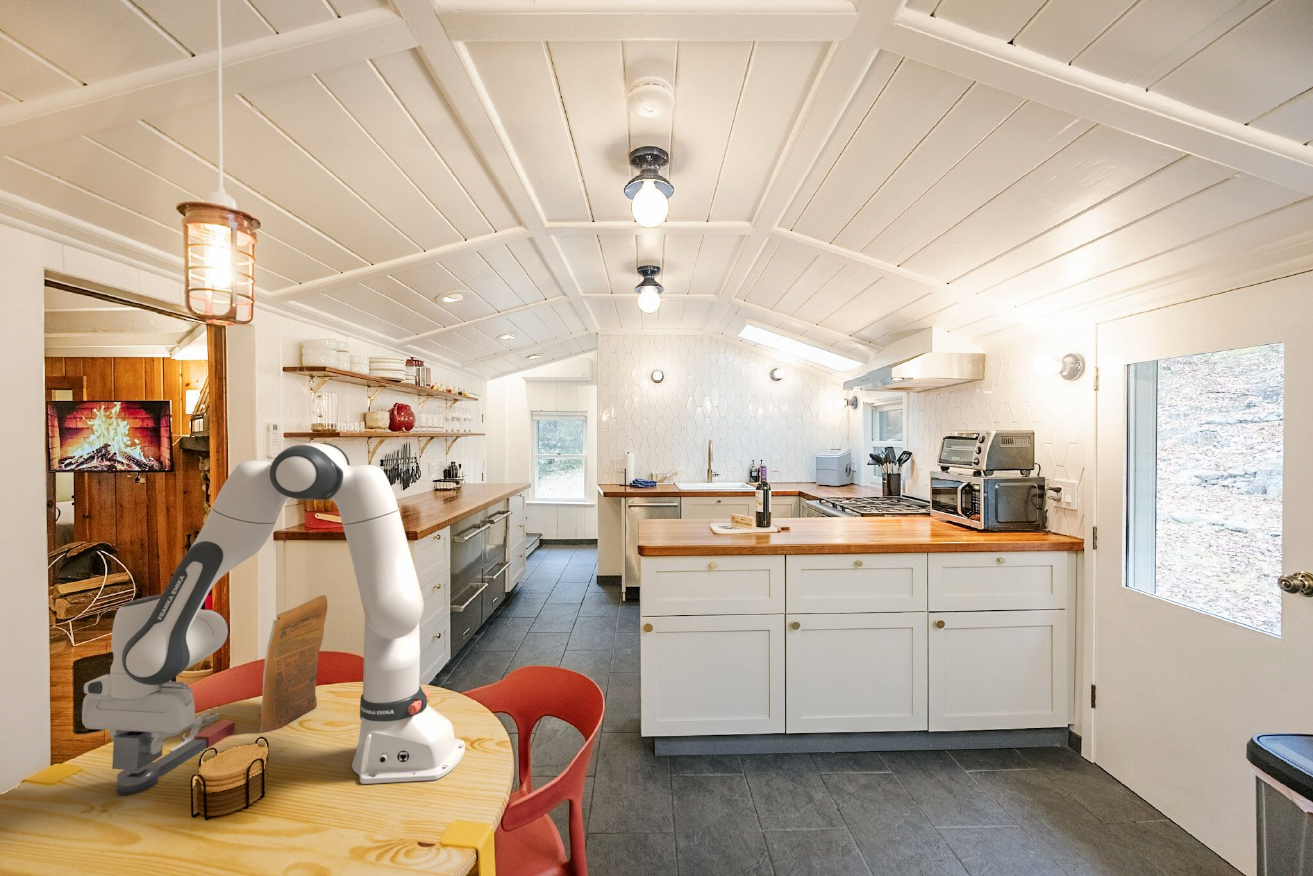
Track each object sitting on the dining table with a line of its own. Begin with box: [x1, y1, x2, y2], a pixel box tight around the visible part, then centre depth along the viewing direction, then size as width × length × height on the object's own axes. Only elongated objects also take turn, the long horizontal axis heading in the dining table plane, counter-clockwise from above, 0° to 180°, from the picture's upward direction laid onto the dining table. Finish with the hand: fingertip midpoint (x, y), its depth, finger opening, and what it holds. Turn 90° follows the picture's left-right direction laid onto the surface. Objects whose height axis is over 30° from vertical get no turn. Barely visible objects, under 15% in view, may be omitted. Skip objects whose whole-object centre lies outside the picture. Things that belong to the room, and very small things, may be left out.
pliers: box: [164, 711, 221, 753], centre depth 128 cm, size 10×2×15 cm
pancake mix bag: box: [259, 594, 328, 733], centre depth 137 cm, size 7×19×28 cm, turn 169°
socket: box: [111, 731, 164, 771], centre depth 108 cm, size 5×5×6 cm
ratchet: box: [116, 720, 236, 797], centre depth 117 cm, size 6×24×8 cm, turn 176°
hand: (138, 751), depth 108 cm, fingers closed on socket, 5 cm apart
